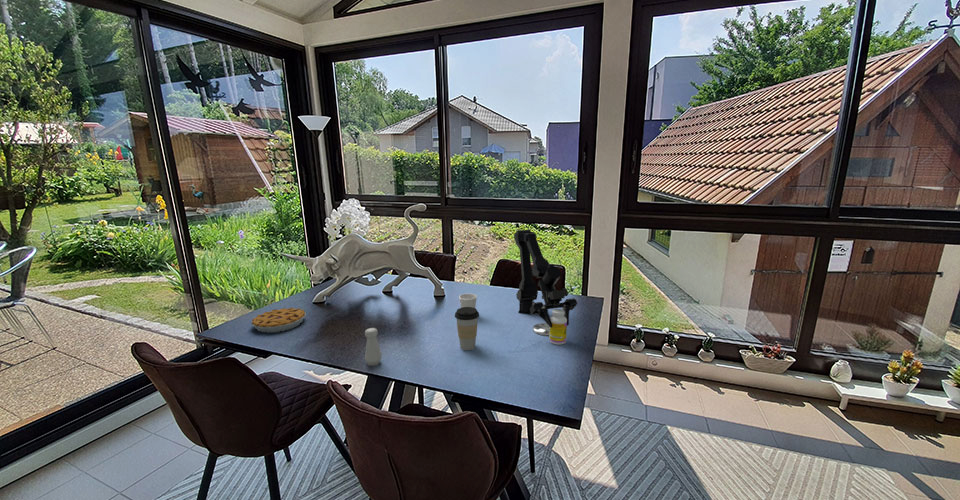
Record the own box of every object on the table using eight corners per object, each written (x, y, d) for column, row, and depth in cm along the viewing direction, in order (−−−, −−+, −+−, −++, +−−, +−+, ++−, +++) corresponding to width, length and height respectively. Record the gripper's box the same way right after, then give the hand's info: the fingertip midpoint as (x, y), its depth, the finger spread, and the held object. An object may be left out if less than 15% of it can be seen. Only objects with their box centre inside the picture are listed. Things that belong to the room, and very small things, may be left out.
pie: (276, 314, 189) (275, 304, 188) (316, 317, 184) (315, 307, 183) (240, 332, 168) (239, 321, 167) (284, 336, 163) (283, 325, 162)
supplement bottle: (566, 346, 150) (567, 314, 147) (549, 344, 151) (549, 313, 148) (566, 338, 156) (567, 308, 153) (549, 337, 157) (550, 307, 155)
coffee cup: (461, 354, 144) (460, 316, 141) (451, 344, 152) (450, 308, 149) (484, 349, 148) (483, 312, 145) (473, 339, 156) (472, 304, 153)
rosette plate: (529, 326, 168) (529, 324, 168) (552, 323, 171) (552, 321, 171) (539, 337, 158) (539, 334, 157) (563, 333, 160) (563, 331, 160)
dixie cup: (467, 321, 175) (466, 300, 173) (455, 316, 181) (455, 296, 179) (481, 316, 181) (480, 296, 178) (469, 311, 187) (469, 292, 185)
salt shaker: (367, 359, 142) (364, 326, 139) (383, 358, 142) (380, 325, 139) (363, 367, 136) (360, 333, 133) (380, 366, 136) (377, 332, 134)
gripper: (532, 283, 150) (543, 320, 142) (576, 279, 154) (589, 315, 146) (525, 296, 159) (535, 332, 151) (566, 292, 164) (578, 326, 155)
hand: (559, 326), depth 151 cm, fingers closed on supplement bottle, 7 cm apart
